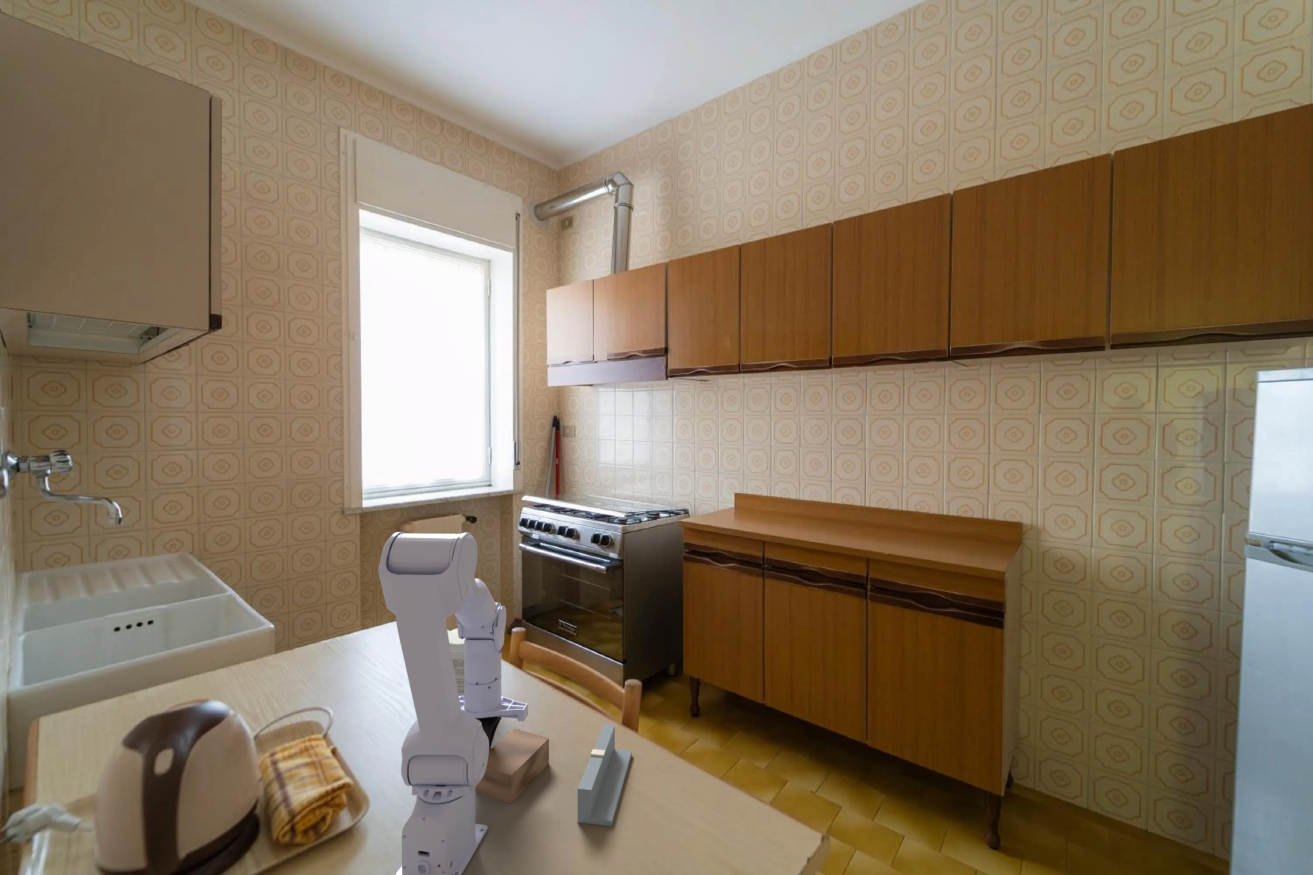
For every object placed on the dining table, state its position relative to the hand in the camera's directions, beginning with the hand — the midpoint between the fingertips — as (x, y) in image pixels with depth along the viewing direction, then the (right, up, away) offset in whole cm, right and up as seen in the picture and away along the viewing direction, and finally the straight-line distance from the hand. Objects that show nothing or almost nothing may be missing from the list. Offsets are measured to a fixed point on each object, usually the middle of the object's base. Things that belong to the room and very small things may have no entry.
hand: (483, 758), depth 86 cm
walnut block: (+5, -3, -1) cm, 6 cm away
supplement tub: (-9, -2, +20) cm, 22 cm away
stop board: (+20, -3, -3) cm, 21 cm away
